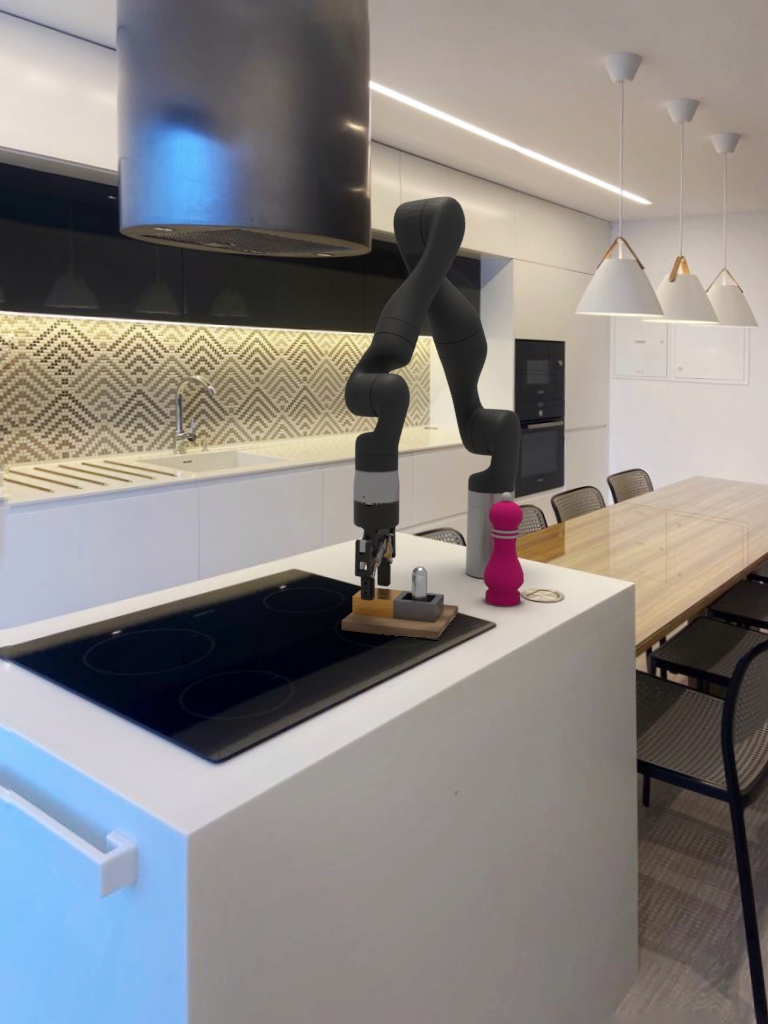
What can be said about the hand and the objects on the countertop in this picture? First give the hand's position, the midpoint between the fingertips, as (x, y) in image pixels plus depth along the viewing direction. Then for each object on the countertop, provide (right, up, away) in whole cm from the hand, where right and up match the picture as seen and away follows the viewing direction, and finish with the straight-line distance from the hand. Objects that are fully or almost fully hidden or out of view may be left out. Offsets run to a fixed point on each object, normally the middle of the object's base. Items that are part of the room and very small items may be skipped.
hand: (376, 592), depth 137 cm
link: (+4, -3, -1) cm, 5 cm away
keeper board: (+4, -5, 0) cm, 6 cm away
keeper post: (+7, -4, -2) cm, 8 cm away
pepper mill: (+23, -3, +11) cm, 26 cm away
